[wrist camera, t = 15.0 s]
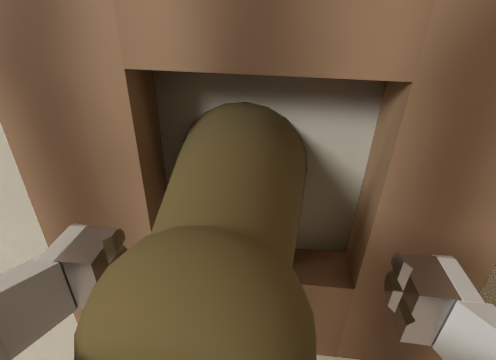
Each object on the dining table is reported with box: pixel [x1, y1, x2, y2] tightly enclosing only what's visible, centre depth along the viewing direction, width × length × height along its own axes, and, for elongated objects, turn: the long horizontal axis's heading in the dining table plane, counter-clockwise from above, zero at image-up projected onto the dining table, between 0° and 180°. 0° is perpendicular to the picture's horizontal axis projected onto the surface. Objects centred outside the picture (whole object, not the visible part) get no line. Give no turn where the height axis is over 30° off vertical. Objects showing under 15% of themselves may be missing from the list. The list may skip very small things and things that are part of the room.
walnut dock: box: [0, 0, 496, 360], centre depth 14 cm, size 20×20×3 cm
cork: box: [74, 102, 316, 360], centre depth 10 cm, size 6×6×11 cm
